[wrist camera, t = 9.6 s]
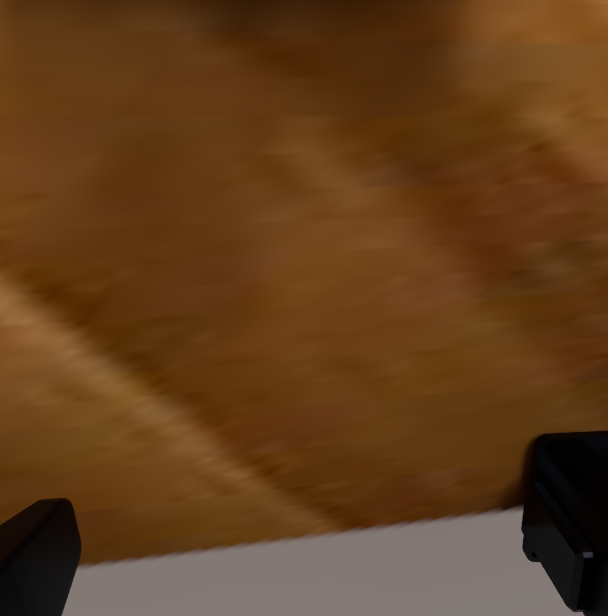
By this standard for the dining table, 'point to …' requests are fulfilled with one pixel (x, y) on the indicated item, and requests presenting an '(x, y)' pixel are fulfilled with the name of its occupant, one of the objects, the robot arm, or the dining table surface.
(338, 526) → the dining table surface
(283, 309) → the dining table surface
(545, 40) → the dining table surface
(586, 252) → the dining table surface
